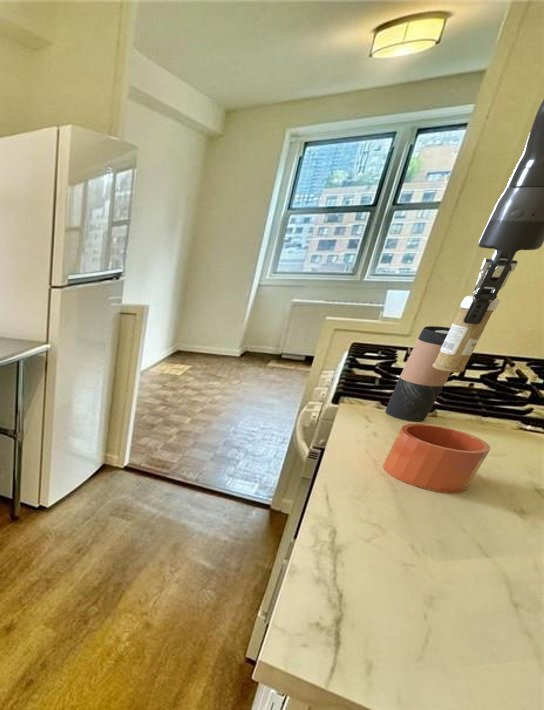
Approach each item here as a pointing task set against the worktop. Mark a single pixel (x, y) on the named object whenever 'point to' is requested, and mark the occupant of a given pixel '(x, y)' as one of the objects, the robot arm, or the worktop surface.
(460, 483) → the crock
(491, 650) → the worktop surface
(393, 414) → the travel mug
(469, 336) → the sprinkles bottle
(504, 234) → the robot arm
